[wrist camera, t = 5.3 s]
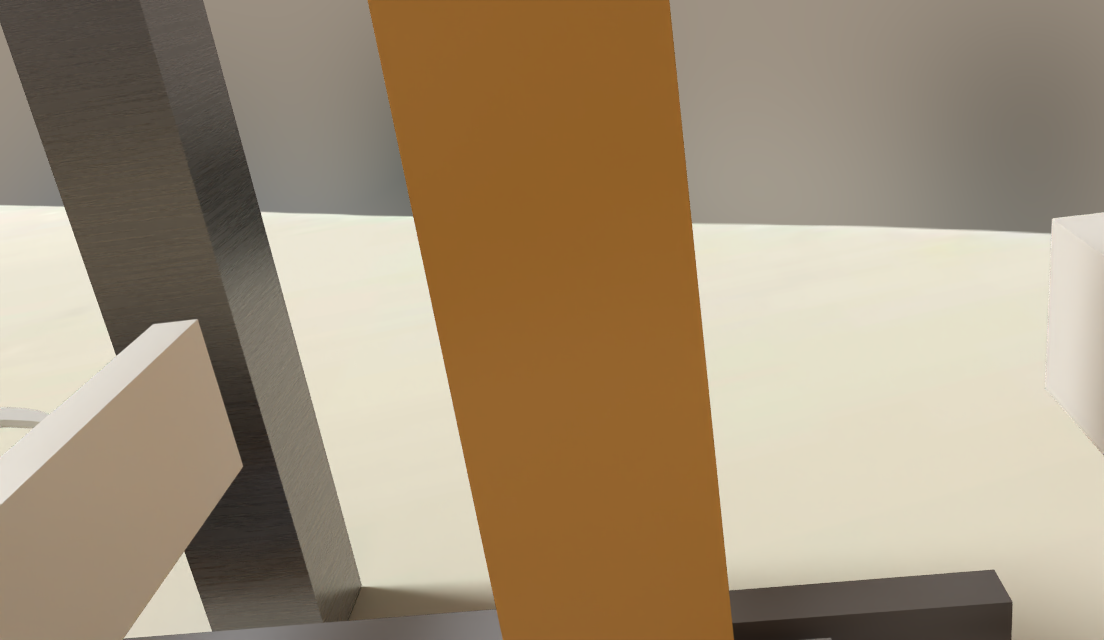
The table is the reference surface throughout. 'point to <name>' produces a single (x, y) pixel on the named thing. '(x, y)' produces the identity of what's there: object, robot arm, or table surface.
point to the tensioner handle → (566, 305)
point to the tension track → (741, 615)
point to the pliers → (20, 417)
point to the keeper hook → (190, 278)
